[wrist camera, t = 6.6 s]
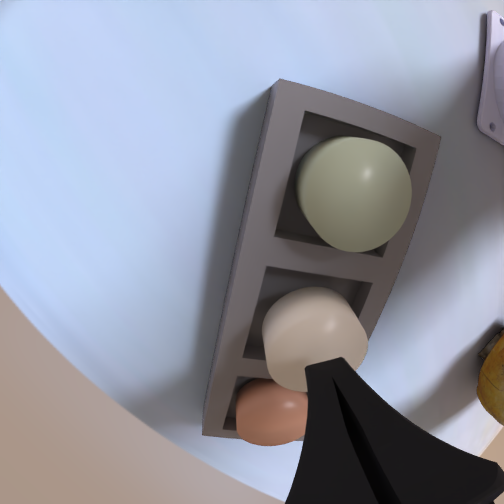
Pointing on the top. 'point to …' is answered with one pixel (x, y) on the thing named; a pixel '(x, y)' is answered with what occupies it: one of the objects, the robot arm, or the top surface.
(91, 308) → the top surface
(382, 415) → the robot arm
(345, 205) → the sage button
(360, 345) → the ivory button
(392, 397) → the top surface
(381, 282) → the panel
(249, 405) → the terracotta button
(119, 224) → the top surface
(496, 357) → the decorative figurine
